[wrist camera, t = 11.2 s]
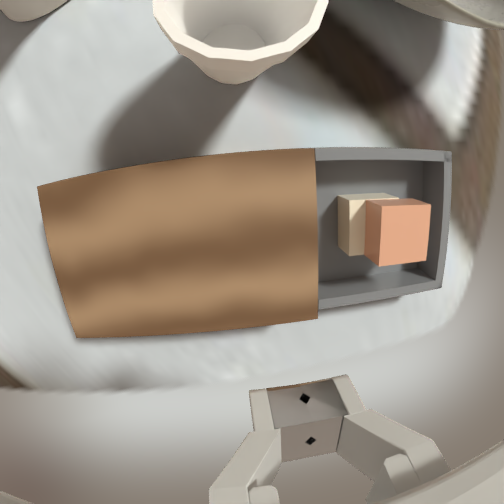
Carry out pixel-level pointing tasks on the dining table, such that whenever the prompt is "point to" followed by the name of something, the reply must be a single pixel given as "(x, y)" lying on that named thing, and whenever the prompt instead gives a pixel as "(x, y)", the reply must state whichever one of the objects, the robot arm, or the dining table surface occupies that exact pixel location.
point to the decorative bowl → (462, 11)
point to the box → (393, 183)
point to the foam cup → (238, 33)
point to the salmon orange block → (396, 231)
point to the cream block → (354, 221)
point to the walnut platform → (187, 244)
